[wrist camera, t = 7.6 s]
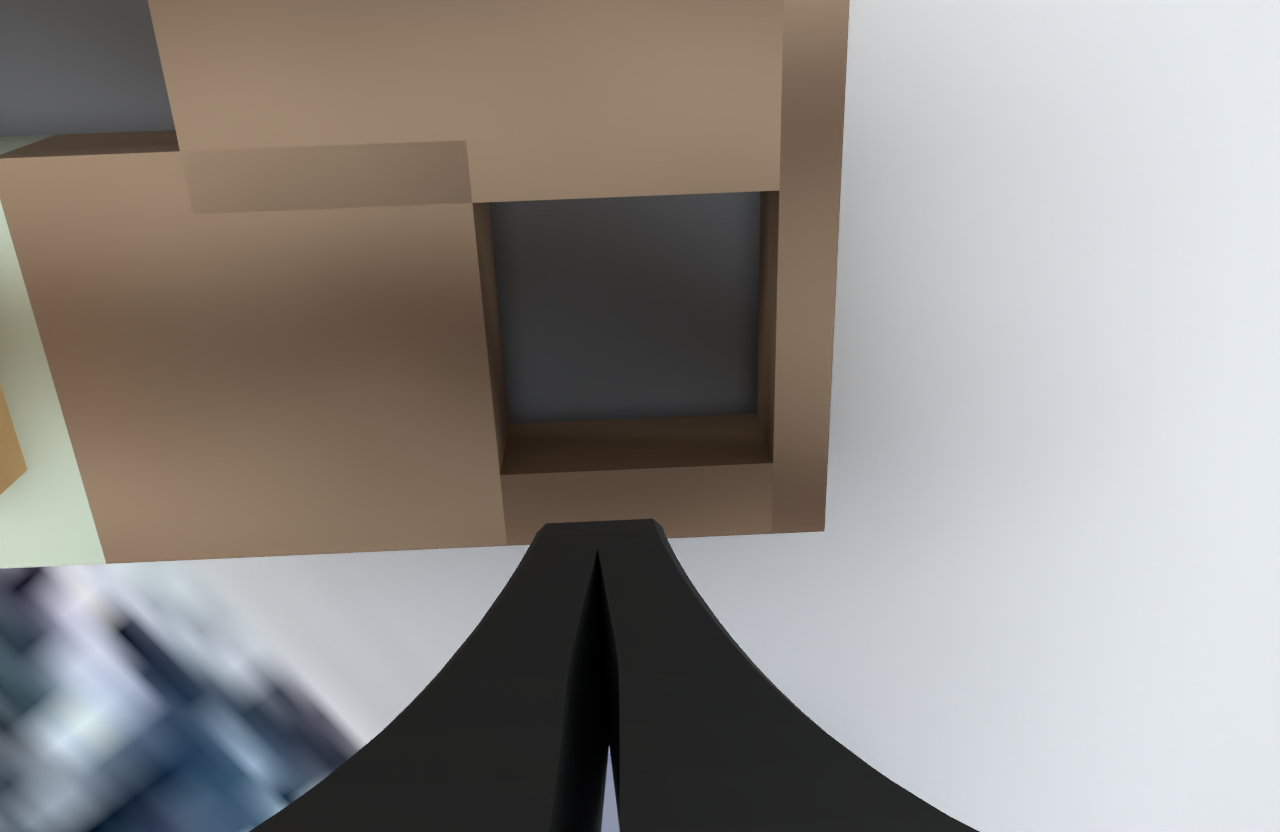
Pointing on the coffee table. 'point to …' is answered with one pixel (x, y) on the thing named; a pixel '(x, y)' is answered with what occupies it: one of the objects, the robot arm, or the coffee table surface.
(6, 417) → the block
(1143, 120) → the coffee table surface
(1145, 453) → the coffee table surface
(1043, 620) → the coffee table surface
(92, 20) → the trap board
